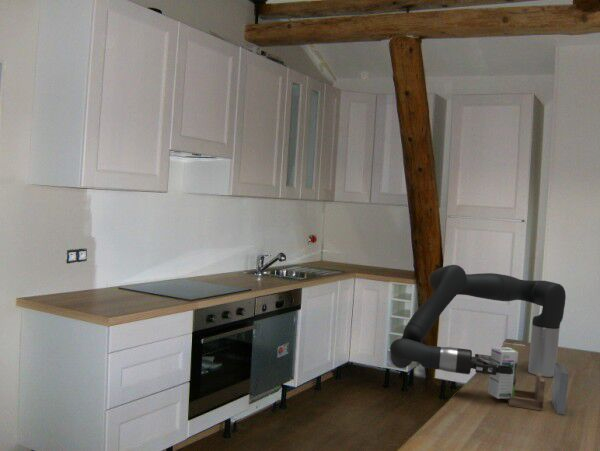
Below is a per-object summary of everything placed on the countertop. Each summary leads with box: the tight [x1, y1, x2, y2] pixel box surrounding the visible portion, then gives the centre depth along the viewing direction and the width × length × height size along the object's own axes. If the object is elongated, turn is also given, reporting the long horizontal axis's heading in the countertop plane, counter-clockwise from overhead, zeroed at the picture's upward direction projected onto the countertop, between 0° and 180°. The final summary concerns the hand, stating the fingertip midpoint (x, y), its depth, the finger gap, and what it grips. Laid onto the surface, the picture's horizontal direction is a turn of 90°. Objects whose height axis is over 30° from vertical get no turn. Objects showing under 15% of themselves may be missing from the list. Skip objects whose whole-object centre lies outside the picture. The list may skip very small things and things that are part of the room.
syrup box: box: [487, 346, 519, 400], centre depth 195 cm, size 6×6×14 cm
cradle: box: [506, 372, 546, 411], centre depth 193 cm, size 10×9×8 cm
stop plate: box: [551, 362, 569, 416], centre depth 191 cm, size 12×2×12 cm, turn 166°
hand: (510, 367), depth 194 cm, fingers closed on syrup box, 7 cm apart
